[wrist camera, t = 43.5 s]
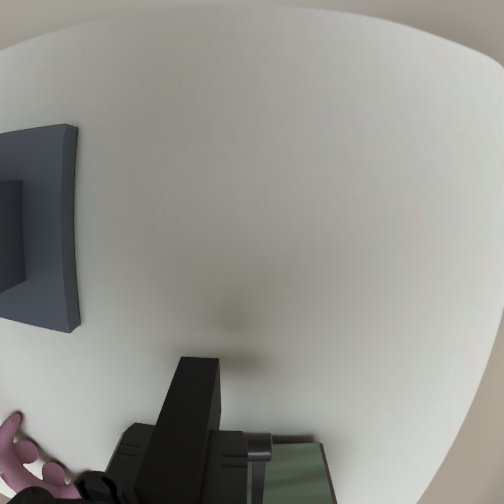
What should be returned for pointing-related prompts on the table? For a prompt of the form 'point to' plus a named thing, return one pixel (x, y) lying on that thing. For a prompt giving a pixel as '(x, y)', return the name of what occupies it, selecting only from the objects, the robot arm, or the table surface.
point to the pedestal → (38, 227)
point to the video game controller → (16, 454)
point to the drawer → (282, 472)
